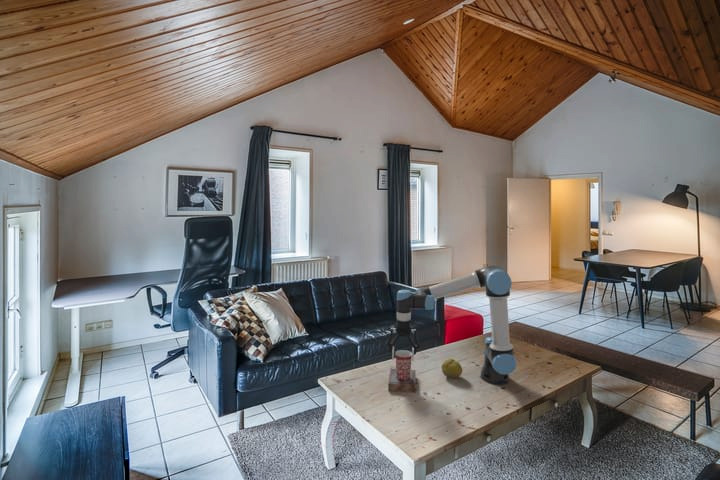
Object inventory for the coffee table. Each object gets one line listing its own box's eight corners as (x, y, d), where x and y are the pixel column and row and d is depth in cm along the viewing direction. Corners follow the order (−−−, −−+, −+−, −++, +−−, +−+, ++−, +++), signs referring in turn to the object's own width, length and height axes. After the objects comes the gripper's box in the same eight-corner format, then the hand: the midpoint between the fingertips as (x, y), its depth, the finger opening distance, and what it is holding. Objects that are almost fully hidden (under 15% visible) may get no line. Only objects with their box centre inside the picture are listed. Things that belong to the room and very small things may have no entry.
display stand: (415, 377, 217) (415, 369, 216) (415, 392, 199) (415, 384, 198) (390, 375, 219) (390, 367, 218) (388, 390, 201) (388, 382, 200)
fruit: (445, 382, 210) (446, 365, 209) (438, 373, 222) (438, 356, 220) (465, 381, 212) (465, 364, 211) (456, 372, 223) (457, 355, 222)
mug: (413, 380, 203) (414, 356, 201) (397, 381, 201) (397, 357, 200) (407, 370, 215) (408, 347, 214) (391, 371, 214) (392, 347, 212)
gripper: (425, 318, 207) (423, 357, 209) (383, 316, 210) (382, 355, 212) (425, 322, 199) (424, 363, 202) (381, 320, 203) (381, 360, 205)
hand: (402, 359), depth 207 cm, fingers open, 10 cm apart
